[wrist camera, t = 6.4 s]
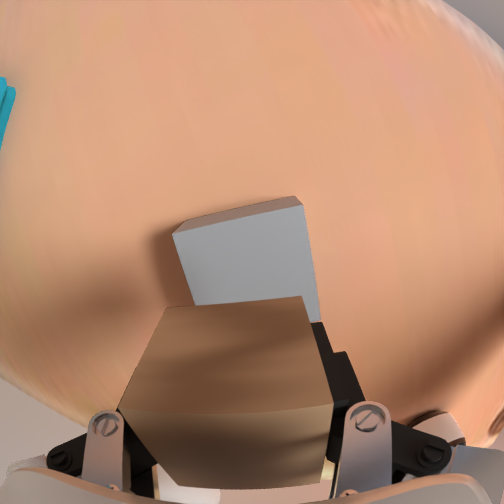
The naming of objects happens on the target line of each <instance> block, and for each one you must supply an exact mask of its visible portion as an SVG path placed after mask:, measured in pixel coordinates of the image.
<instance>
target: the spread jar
mask: <svg viewBox="0 0 504 504" xmlns="http://www.w3.org/2000/svg"><path fill="white" fill-rule="evenodd" d="M408 427H411V428H413V429H416V430H419V431H422V432H425V433H428V434H431V435H435V436H438V437H441V438H443V439H445V440H446V441H447V442H448V443H449V445H450V446H452V447H456V446H457V445H463V446H466V441H465V437H464V435H463V433H462V431H461V429H460V427H459V425H458V423H457V422H456V420H455V418H454V417H453V416H452V415H451V414H450V413H449V412H445V411H438V412H431V413H428V414H425V415H423V416H421V417H419V418H418V419H416V420H414V421H413V422H412V423H410V424H409V425H408Z"/></svg>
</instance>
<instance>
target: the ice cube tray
mask: <svg viewBox="0 0 504 504" xmlns="http://www.w3.org/2000/svg"><path fill="white" fill-rule="evenodd" d="M15 95H16V91H15V88H13V87H9V86H7V82H6V79H5V78H4V77H0V149H1V145H2V140H3V136H4V133H5V129H6V125H7V122H8V119H9V115H10V112H11V109H12V106H13V103H14V100H15Z"/></svg>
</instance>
